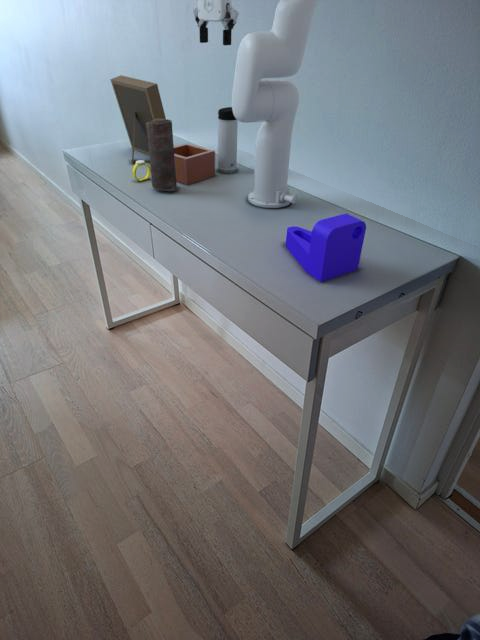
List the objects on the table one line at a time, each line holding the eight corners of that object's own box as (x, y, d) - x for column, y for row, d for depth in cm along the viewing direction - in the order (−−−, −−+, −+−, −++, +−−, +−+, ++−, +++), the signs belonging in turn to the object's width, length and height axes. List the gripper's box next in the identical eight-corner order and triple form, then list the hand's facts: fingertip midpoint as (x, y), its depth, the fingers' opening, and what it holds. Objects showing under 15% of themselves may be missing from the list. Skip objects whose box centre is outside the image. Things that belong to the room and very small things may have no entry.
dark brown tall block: (160, 195, 134) (154, 123, 122) (147, 188, 138) (140, 118, 127) (181, 190, 138) (178, 120, 126) (168, 183, 142) (164, 115, 131)
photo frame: (141, 146, 175) (134, 74, 161) (175, 160, 163) (171, 82, 148) (107, 153, 167) (96, 77, 152) (140, 167, 154) (132, 86, 140)
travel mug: (237, 174, 152) (238, 109, 140) (217, 173, 152) (217, 108, 140) (237, 168, 157) (239, 105, 145) (218, 167, 157) (218, 104, 145)
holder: (215, 175, 150) (215, 150, 145) (187, 185, 142) (186, 159, 137) (187, 167, 157) (186, 143, 152) (159, 175, 148) (157, 150, 144)
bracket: (357, 269, 101) (367, 219, 94) (320, 281, 96) (328, 230, 89) (305, 238, 113) (311, 192, 106) (270, 248, 108) (273, 200, 101)
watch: (147, 177, 147) (146, 158, 143) (152, 179, 145) (151, 160, 142) (132, 181, 143) (129, 162, 140) (137, 183, 142) (134, 164, 138)
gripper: (184, -27, 132) (186, 42, 142) (229, -27, 124) (228, 46, 134) (202, -25, 137) (203, 41, 147) (246, -25, 128) (244, 45, 138)
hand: (215, 43), depth 140 cm, fingers open, 9 cm apart
